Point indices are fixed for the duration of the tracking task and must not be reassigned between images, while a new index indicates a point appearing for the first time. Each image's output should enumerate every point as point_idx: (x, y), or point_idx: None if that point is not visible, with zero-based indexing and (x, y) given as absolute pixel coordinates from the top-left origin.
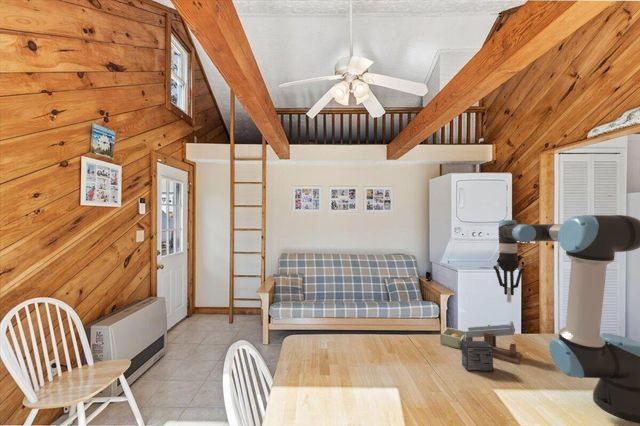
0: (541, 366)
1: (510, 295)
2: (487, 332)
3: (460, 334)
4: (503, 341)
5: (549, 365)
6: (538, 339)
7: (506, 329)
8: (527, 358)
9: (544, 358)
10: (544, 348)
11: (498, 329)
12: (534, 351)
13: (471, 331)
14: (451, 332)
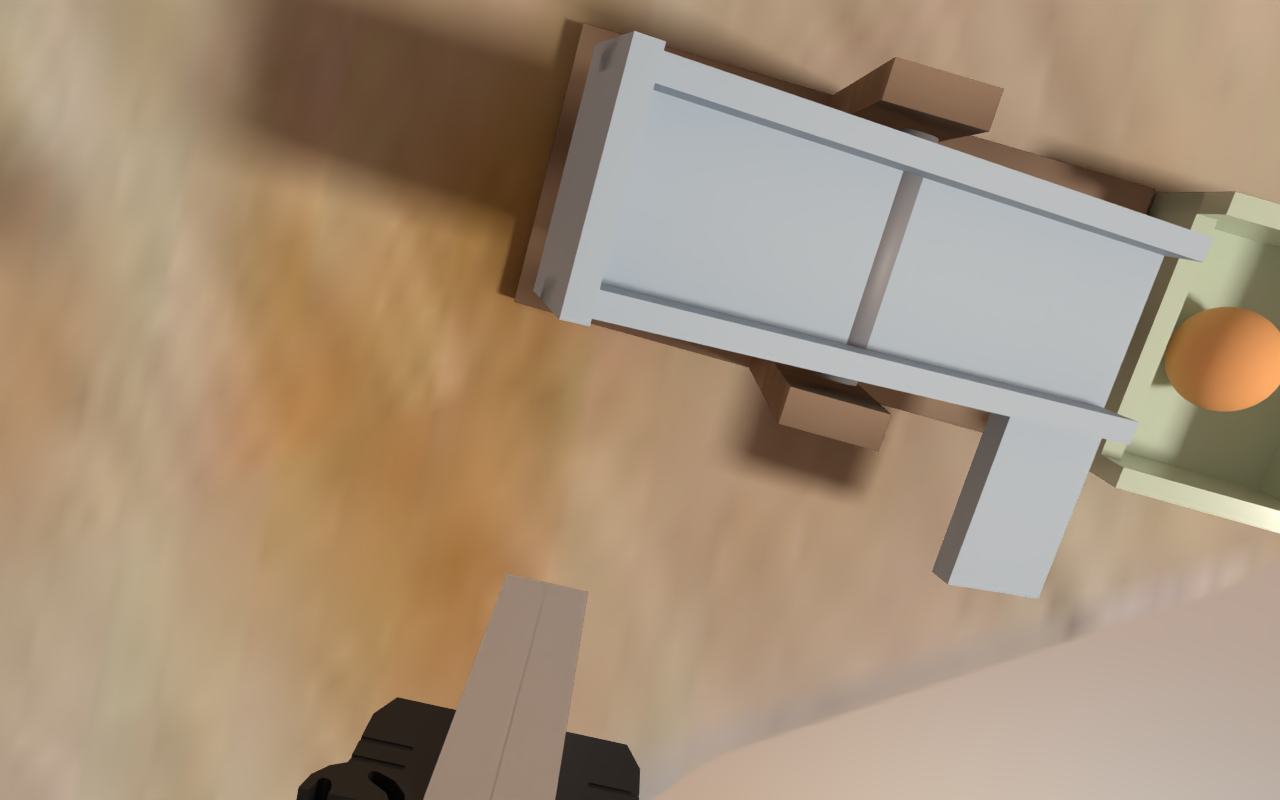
0: (368, 51)
1: (479, 668)
2: (955, 91)
3: (1150, 467)
4: (631, 597)
5: (287, 110)
6: (266, 776)
7: (694, 62)
8: (467, 211)
9: (301, 278)
10: (252, 549)
11: (806, 99)
12: (364, 430)
13: (1138, 212)
14: (1255, 498)
